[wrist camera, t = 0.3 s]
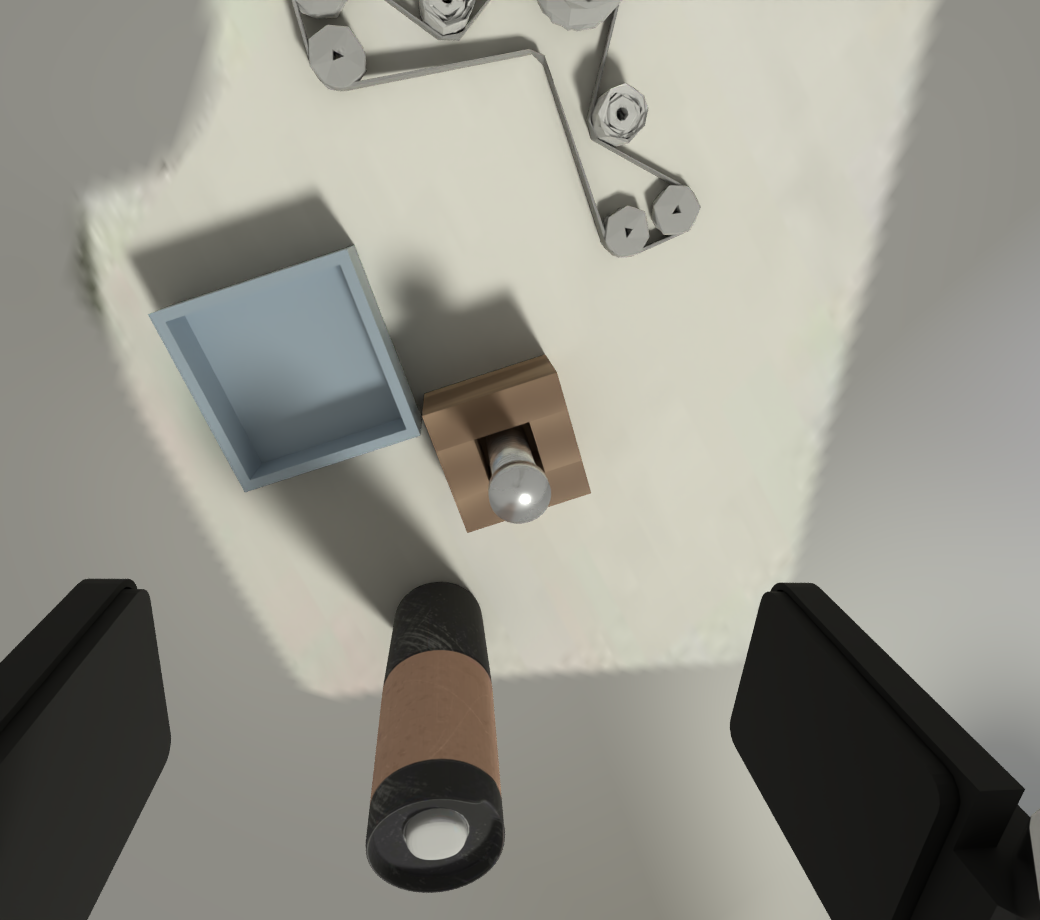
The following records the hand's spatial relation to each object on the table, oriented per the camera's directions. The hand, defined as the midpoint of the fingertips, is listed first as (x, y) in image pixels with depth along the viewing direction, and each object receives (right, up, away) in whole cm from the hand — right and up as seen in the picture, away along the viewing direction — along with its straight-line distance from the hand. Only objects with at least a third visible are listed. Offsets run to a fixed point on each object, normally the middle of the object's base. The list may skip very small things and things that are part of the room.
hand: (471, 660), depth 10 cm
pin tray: (-14, +10, +33) cm, 37 cm away
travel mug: (-6, -10, +42) cm, 44 cm away
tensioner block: (0, +5, +36) cm, 37 cm away
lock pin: (0, +5, +35) cm, 36 cm away
